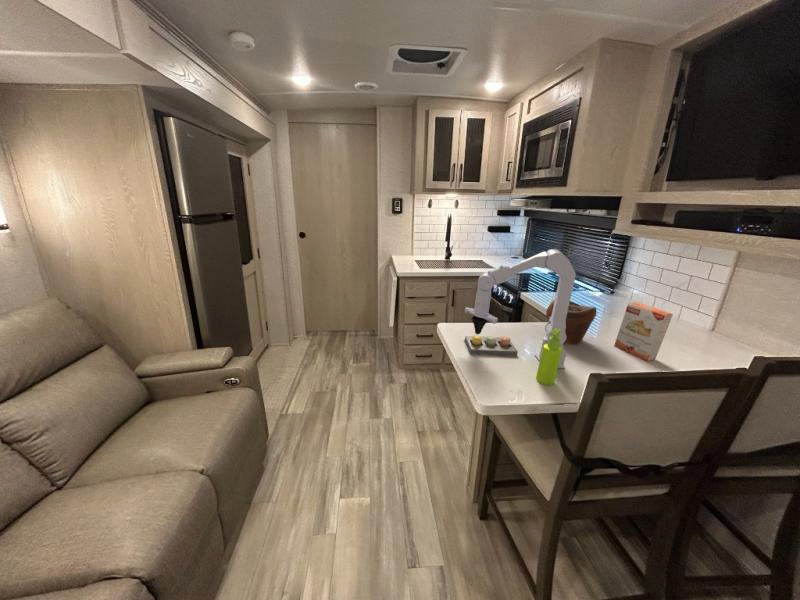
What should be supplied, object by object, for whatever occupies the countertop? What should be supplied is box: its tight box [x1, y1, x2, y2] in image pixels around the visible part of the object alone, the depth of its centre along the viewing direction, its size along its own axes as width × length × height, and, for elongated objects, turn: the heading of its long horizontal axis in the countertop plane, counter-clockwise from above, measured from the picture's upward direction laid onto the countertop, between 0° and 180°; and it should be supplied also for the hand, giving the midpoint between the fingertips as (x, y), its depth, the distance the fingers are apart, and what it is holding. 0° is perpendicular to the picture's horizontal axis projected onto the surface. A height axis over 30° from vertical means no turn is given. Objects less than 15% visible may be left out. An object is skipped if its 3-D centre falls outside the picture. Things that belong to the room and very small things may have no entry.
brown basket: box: [545, 299, 597, 345], centre depth 138 cm, size 18×20×18 cm
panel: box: [464, 335, 519, 357], centre depth 128 cm, size 12×19×2 cm, turn 90°
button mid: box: [486, 335, 496, 346], centre depth 127 cm, size 4×4×3 cm
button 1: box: [471, 334, 483, 346], centre depth 127 cm, size 4×4×3 cm
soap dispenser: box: [535, 328, 562, 386], centre depth 104 cm, size 6×7×20 cm
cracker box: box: [613, 301, 673, 362], centre depth 127 cm, size 14×6×21 cm, turn 23°
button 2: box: [500, 336, 511, 347], centre depth 127 cm, size 4×4×3 cm
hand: (477, 333), depth 126 cm, fingers closed
